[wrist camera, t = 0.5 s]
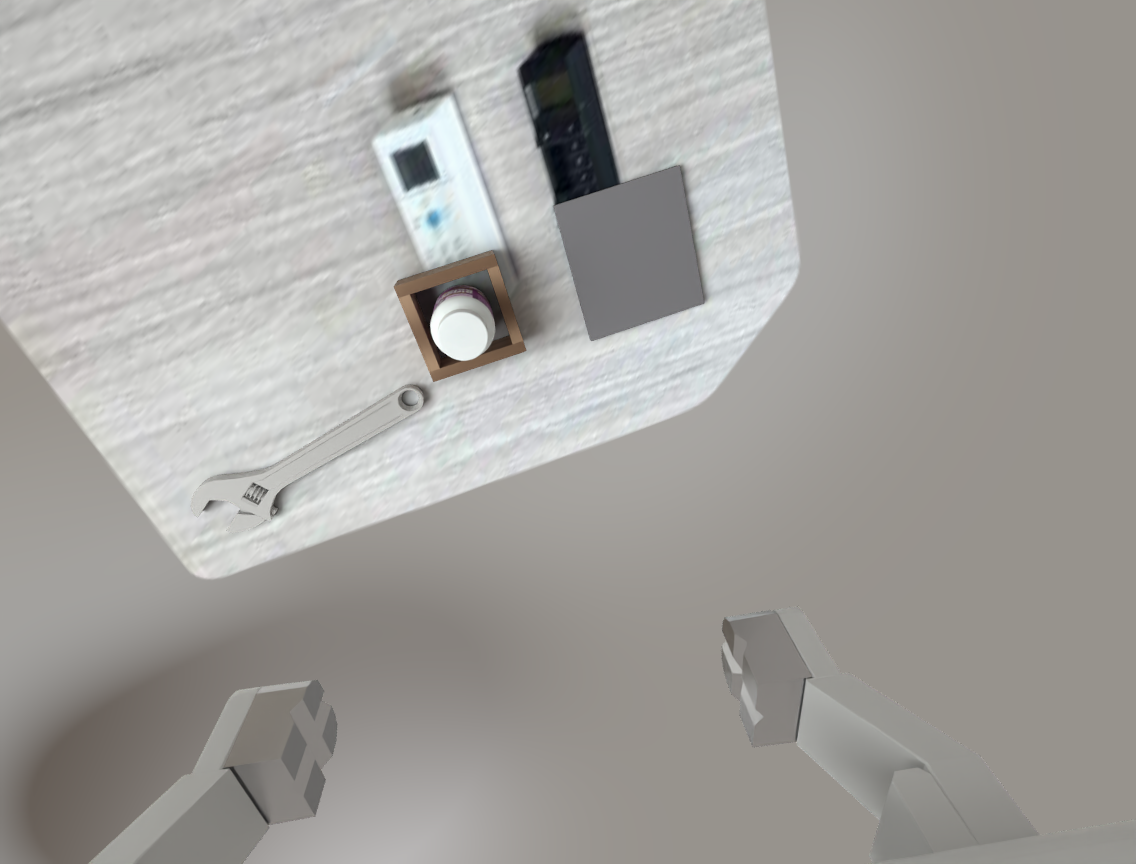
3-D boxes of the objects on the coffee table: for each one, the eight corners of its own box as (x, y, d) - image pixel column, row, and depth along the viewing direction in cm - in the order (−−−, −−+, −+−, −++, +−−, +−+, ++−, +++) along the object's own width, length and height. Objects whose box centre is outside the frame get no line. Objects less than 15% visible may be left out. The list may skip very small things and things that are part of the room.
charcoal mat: (553, 205, 51) (554, 205, 50) (677, 165, 51) (679, 165, 51) (590, 339, 56) (591, 341, 56) (701, 302, 57) (704, 303, 56)
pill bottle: (466, 271, 52) (468, 288, 43) (502, 317, 54) (511, 341, 45) (421, 307, 52) (414, 330, 44) (458, 351, 54) (458, 382, 46)
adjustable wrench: (414, 376, 55) (413, 382, 54) (446, 429, 58) (446, 436, 56) (186, 487, 55) (178, 496, 54) (229, 535, 58) (223, 545, 57)
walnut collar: (397, 280, 51) (393, 286, 48) (492, 250, 51) (494, 254, 48) (435, 370, 55) (433, 381, 52) (522, 341, 55) (526, 350, 52)
